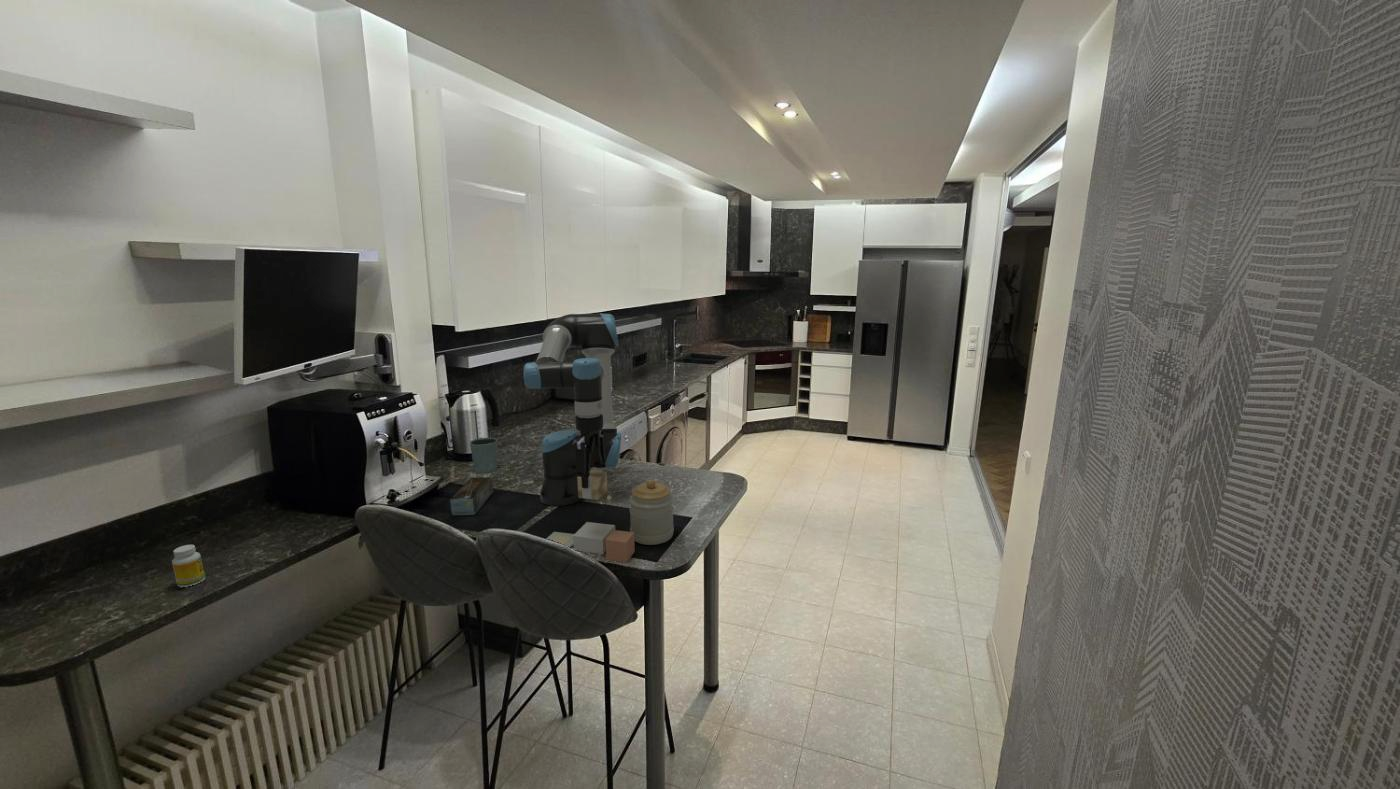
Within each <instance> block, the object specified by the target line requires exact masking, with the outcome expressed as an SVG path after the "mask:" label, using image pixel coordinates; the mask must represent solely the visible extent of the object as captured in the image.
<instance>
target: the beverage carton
mask: <svg viewBox="0 0 1400 789" xmlns="http://www.w3.org/2000/svg"><path fill="white" fill-rule="evenodd" d="M493 493H494V486H493V479H492V477H491V476H487V477H483V476H481V477H480V476H479V477H470V478H469V479H468V480H467V481H466V482H465V484H464V485H462V487H461V488H460V489H459V490H458V491H457V492H456V493H455V494H454V495H453V496H452V497H451V498H450V499H449V503H450V511H451V514H452V516H475V515H476V514H477V512H478V511H479V510H480V509H481V508H482V507H483V505H484V504H485V503H486V502H487V501H488V499H489V498H490V497H491V496H492V494H493Z"/></svg>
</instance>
